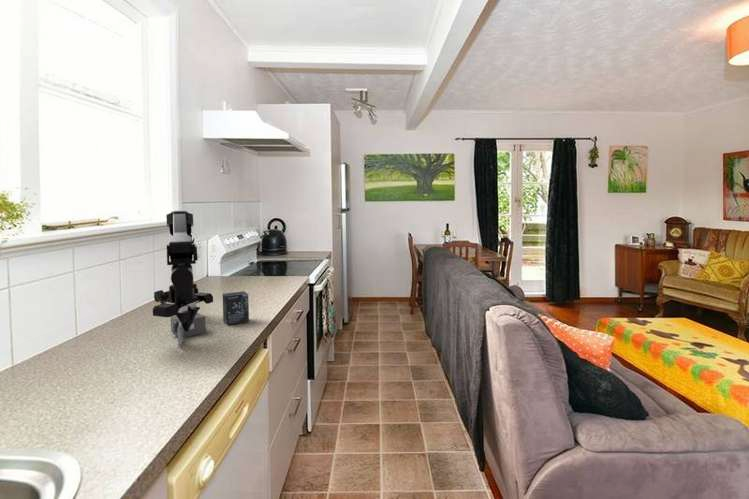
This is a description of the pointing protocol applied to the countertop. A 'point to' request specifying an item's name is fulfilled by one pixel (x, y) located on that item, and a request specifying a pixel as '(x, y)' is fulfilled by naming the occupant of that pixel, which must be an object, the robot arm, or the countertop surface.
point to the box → (235, 308)
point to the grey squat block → (195, 328)
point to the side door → (180, 334)
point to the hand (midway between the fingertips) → (186, 331)
